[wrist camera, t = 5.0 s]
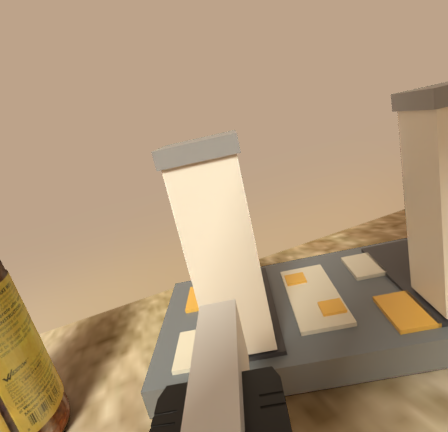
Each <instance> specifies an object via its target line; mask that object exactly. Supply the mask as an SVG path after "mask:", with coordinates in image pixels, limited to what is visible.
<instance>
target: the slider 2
mask: <svg viewBox="0 0 448 432" xmlns="http://www.w3.org/2000/svg"><path fill="white" fill-rule="evenodd" d="M391 100H392V111H397V113H398V126H399V139H400V151H401V163H402V177H403V189H404V201H405V215H406V227H407V240H408V252H409V265H410V278H411V287H412V288H413V289H414V290H415V291H416V292H418V293H419V294H420V295H421V296H422V297H423V298H424V299H425V300H426V301H427V302H428V303H430V304H431V305H432V306H433V307H434V308H435V309H436V310H437V311H438V312H439V313H440V314H442V315H443V316H444V317H445V318H446V319H448V82H445V83H440V84H435V85H431V86H427V87H422V88H418V89H414V90H410V91H405V92H400V93H396V94H391Z"/></svg>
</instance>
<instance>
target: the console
mask: <svg viewBox="0 0 448 432" xmlns="http://www.w3.org/2000/svg"><path fill="white" fill-rule="evenodd" d="M260 268H261V272H262V277H263V282H264V287H265V292H266V296H267V301H268V306H269V311H270V316H271V320H272V325H273V330H274V335H275V340H276V344H277V349H278V350H272V351H267V352H261V353H256V354H250V355H248V356H249V368H250V370H253V369H258V368H264V367H270V366H272V367H273V368H274V369H275V371H276V372H277V373H278V374H279V375H280V377H281V381H282V386H283V391H284V395H285V396H288V395H294V394H299V393H305V392H311V391H317V390H323V389H329V388H335V387H341V386H347V385H352V384H358V383H364V382H370V381H376V380H382V379H388V378H394V377H400V376H405V375H411V374H417V373H423V372H429V371H435V370H441V369H447V368H448V319H446V318H445V317H444V316H443V315H442V314H440V313H439V312H438V311H437V310H436V309H435V308H434V307H433V306H432V305H431V304H430V303H428V302H427V301H426V300H425V299H424V298H423V297H422V296H421V295H420V294H419V293H418V292H416V291H415V290H414V289H413V288H412V287H411V278H410V265H409V252H408V240H407V238H404V239H399V240H394V241H389V242H384V243H379V244H374V245H369V246H364V247H359V248H354V249H349V250H344V251H339V252H333V253H328V254H323V255H318V256H313V257H308V258H303V259H298V260H293V261H288V262H283V263H278V264H273V265H268V266H263V267H260ZM198 312H199V307H198V304H197V300H196V296H195V293H194V289H193V285H192V282H191V281H187V282H182V283H176V284H175V287H174V290H173V293H172V296H171V299H170V303H169V306H168V309H167V312H166V315H165V318H164V321H163V325H162V328H161V331H160V334H159V337H158V340H157V343H156V347H155V350H154V353H153V356H152V359H151V362H150V365H149V369H148V372H147V375H146V378H145V381H144V384H143V387H142V391H141V395H142V397H143V400H144V403H145V406H146V409H147V412H148V415H149V417H150V419H152V418H153V417H154V411H155V407H156V403H157V399H158V398H159V396H160V395H161V393H162V392H163V390H164V389H165V388H166V386H168V385H174V384H179V383H185V382H188V378H189V372H190V365H191V359H192V352H193V345H194V339H195V332H196V326H197V319H198Z"/></svg>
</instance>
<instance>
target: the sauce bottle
mask: <svg viewBox="0 0 448 432" xmlns="http://www.w3.org/2000/svg"><path fill="white" fill-rule="evenodd" d="M69 417H70V406H69V402H68V398H67V396H66V394H65V393H64V387H63V383H62V381H61V379H60V377H59V375H58V373H57V371H56V369H55V367H54V365H53V363H52V361H51V359H50V357H49V355H48V353H47V351H46V349H45V346H44V344H43V342H42V340H41V338H40V336H39V334H38V332H37V330H36V328H35V326H34V324H33V322H32V320H31V318H30V315H29V313H28V311H27V309H26V307H25V305H24V303H23V301H22V299H21V297H20V295H19V293H18V291H17V289H16V287H15V285H14V283H13V281H12V279H11V277H10V275H9V273H8V271H7V270H5V268H4V266H3V265H2V263H1V261H0V432H63V431H64V428H65V426H66V425H67V422H68V419H69Z"/></svg>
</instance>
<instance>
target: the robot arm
mask: <svg viewBox="0 0 448 432" xmlns="http://www.w3.org/2000/svg"><path fill="white" fill-rule="evenodd" d="M149 432H292V429H291V424H290V419H289V414H288V410H287V405H286V400H285V395H284V391H283V386H282V381H281V377H280V375H279V374H278V373H277V372H276V371H275V369H274V368H273V367H272V366H270V367H264V368H258V369H253V370H250V368H249V356H248V351H247V347H246V343H245V338H244V334H243V330H242V326H241V321H240V317H239V313H238V309H237V305H236V300H235V299H233V300H228V301H222V302H217V303H212V304H207V305H201V306H199V312H198V319H197V326H196V332H195V339H194V345H193V352H192V359H191V365H190V372H189V378H188V382H185V383H179V384H174V385H168V386H166V388H165V389H164V390H163V392H162V393H161V395H160V396H159V398H158V399H157V403H156V407H155V411H154V417H153V419H152V423H151V429H150V431H149Z"/></svg>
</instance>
